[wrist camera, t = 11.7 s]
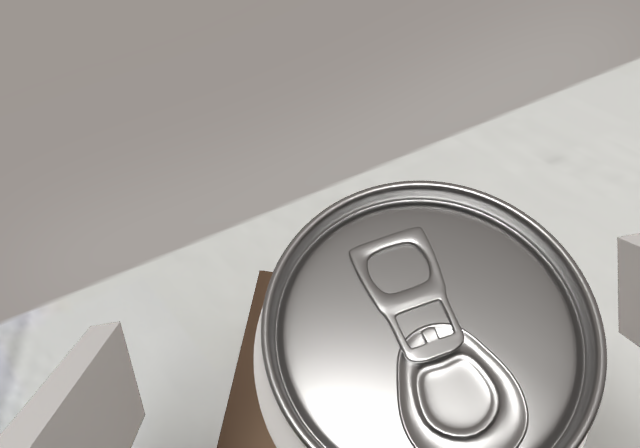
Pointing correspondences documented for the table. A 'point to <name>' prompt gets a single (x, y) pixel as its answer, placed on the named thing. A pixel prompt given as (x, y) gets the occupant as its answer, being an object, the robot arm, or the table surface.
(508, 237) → the can
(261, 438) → the pedestal
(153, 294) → the table surface
